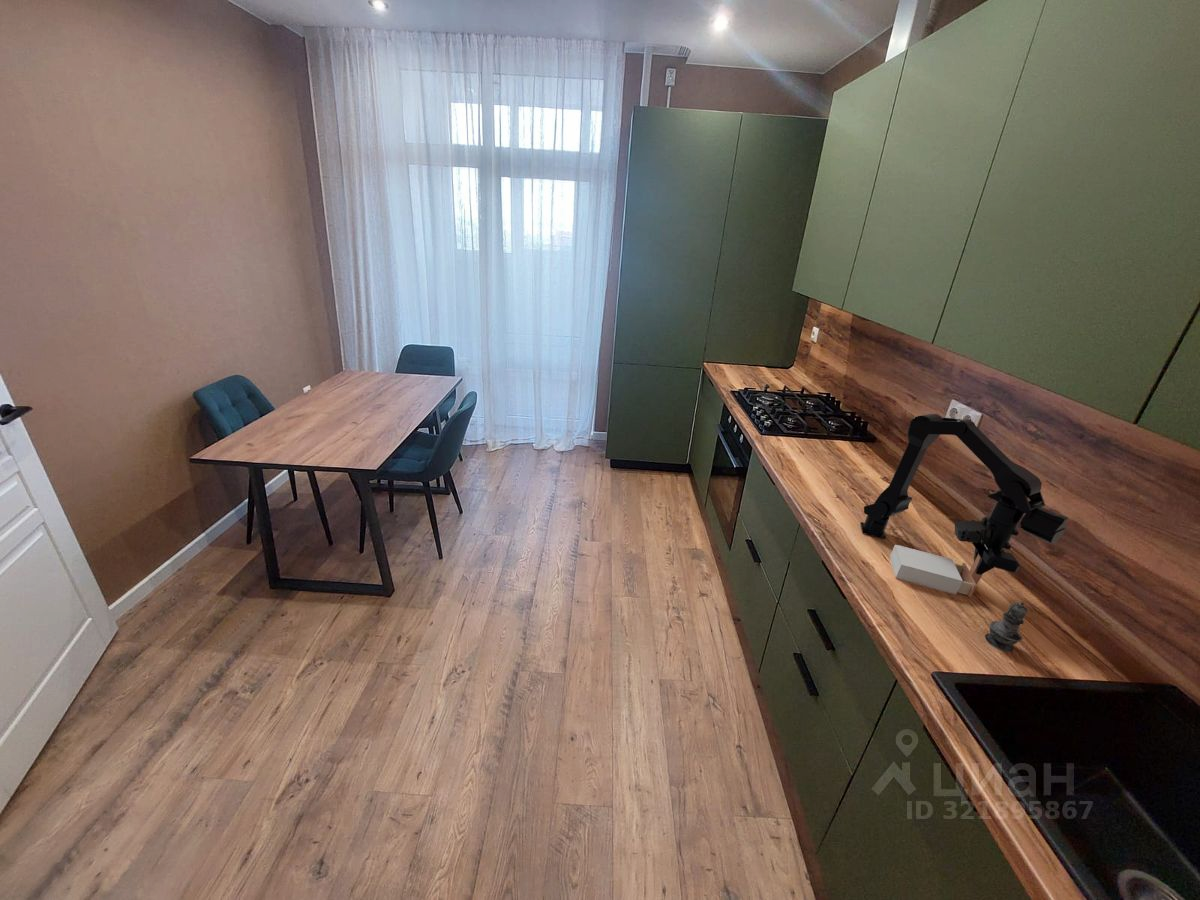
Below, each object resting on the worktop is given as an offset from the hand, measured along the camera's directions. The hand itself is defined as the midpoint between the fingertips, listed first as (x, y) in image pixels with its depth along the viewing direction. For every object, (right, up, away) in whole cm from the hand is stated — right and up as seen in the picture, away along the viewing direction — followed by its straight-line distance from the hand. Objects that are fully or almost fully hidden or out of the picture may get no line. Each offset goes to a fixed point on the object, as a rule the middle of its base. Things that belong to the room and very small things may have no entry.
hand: (976, 571), depth 124 cm
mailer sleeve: (-11, -2, +6) cm, 12 cm away
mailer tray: (-7, -3, +4) cm, 9 cm away
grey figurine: (-7, -13, -15) cm, 21 cm away
